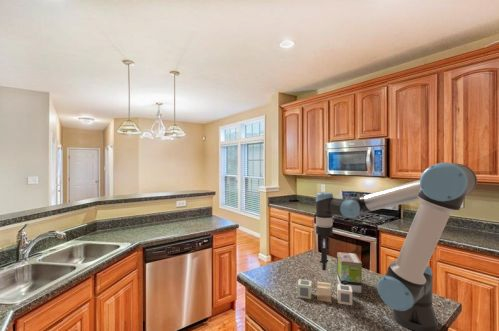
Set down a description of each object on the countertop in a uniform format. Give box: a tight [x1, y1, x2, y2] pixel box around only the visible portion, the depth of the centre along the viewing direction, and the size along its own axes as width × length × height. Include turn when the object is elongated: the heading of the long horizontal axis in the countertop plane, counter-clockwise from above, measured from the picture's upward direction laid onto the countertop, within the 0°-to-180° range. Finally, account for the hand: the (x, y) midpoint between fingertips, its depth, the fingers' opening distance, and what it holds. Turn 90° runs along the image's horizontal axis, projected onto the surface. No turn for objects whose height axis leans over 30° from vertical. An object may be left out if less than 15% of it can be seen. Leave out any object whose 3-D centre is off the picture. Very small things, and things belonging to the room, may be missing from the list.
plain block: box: [316, 281, 332, 303], centre depth 118 cm, size 6×6×6 cm
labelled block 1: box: [297, 278, 313, 300], centre depth 120 cm, size 6×6×6 cm
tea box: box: [336, 251, 363, 294], centre depth 131 cm, size 15×10×15 cm, turn 168°
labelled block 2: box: [336, 283, 353, 306], centre depth 115 cm, size 6×6×6 cm
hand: (324, 276), depth 118 cm, fingers closed
